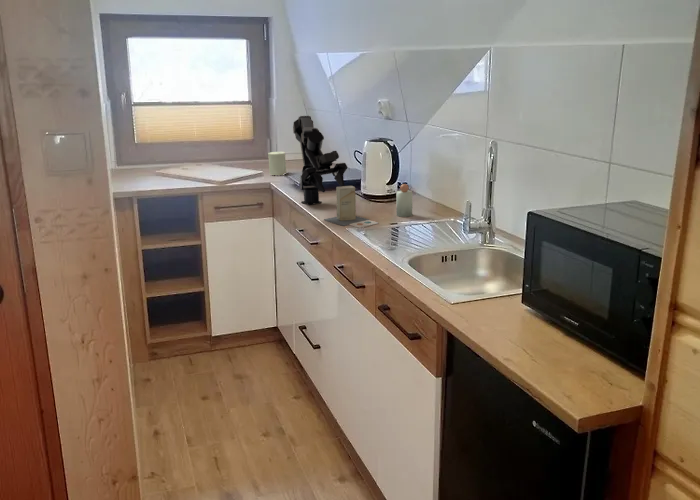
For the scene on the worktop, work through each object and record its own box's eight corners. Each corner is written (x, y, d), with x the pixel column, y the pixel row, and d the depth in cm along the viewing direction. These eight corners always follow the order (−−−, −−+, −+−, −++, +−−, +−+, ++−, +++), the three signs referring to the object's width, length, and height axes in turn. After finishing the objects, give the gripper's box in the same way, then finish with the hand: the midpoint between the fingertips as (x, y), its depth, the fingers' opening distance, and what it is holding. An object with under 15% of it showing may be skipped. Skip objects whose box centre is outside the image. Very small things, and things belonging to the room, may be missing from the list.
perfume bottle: (393, 215, 238) (393, 183, 235) (404, 212, 242) (404, 181, 238) (404, 217, 234) (404, 186, 230) (415, 215, 237) (415, 183, 234)
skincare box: (340, 221, 229) (339, 188, 226) (336, 218, 233) (335, 186, 230) (356, 219, 231) (355, 187, 228) (352, 216, 235) (351, 185, 232)
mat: (323, 220, 233) (323, 219, 233) (349, 215, 240) (349, 214, 240) (343, 226, 224) (343, 225, 224) (369, 220, 231) (369, 219, 231)
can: (276, 176, 326) (274, 153, 323) (265, 174, 333) (264, 152, 330) (290, 174, 332) (288, 151, 329) (279, 172, 339) (278, 150, 336)
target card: (349, 224, 226) (349, 223, 226) (368, 220, 231) (368, 219, 231) (359, 227, 221) (359, 226, 221) (378, 223, 226) (378, 222, 226)
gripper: (304, 147, 231) (322, 180, 226) (344, 141, 242) (362, 173, 237) (293, 165, 240) (310, 198, 235) (332, 159, 251) (350, 190, 246)
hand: (334, 189), depth 238 cm, fingers open, 9 cm apart
